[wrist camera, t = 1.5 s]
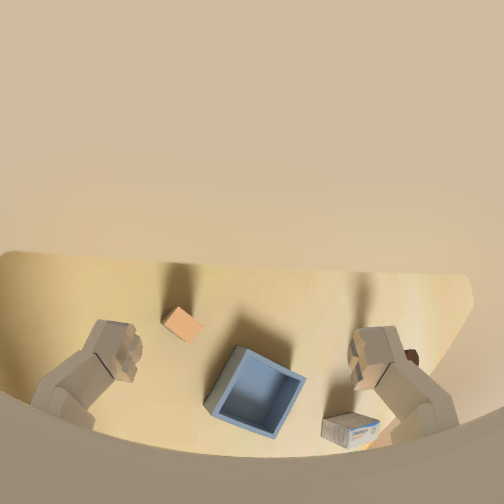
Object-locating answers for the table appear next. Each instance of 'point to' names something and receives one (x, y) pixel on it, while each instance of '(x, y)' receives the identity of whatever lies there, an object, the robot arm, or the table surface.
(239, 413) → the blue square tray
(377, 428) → the medicine box
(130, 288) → the table surface
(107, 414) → the table surface
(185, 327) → the block
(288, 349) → the table surface
